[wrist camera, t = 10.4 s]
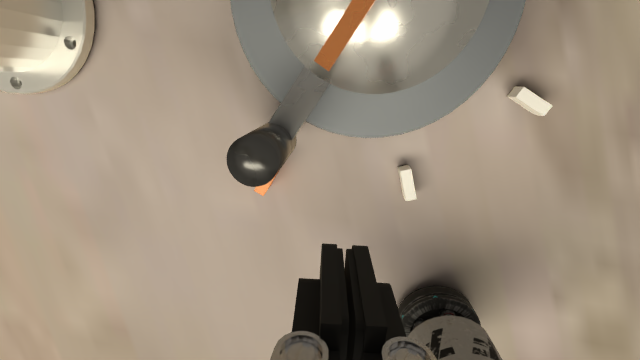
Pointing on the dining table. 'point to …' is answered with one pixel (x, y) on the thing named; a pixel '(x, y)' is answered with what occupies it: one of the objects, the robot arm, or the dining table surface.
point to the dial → (352, 62)
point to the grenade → (446, 325)
